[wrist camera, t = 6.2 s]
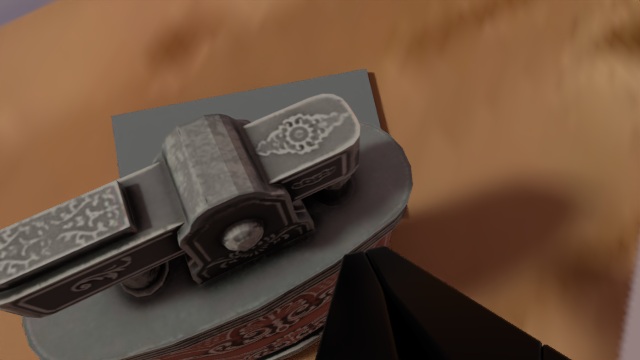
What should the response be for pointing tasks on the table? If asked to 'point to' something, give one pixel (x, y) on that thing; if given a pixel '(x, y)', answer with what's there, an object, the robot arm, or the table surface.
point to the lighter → (209, 241)
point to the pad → (232, 113)
